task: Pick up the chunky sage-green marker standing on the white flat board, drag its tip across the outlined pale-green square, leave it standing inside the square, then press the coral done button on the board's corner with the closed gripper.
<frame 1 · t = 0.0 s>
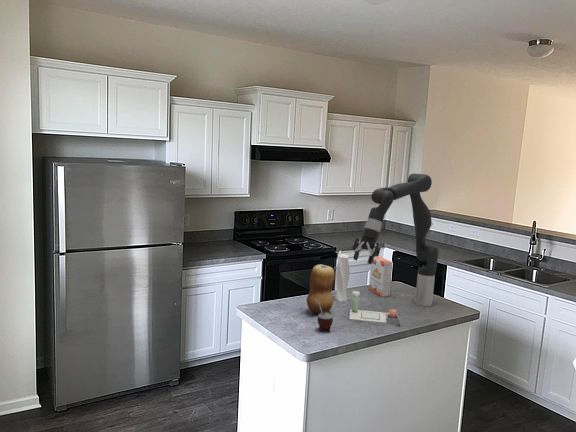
hand: (362, 261, 225), 31 cm above the countertop, fingers open, 8 cm apart
done button: (392, 313, 233), point 5 cm above the countertop, slide at 0.0 cm
butternut squash: (319, 313, 243), on the countertop
marker: (354, 311, 246), point 1 cm above the countertop, touching white flat board
skyscraper: (340, 301, 264), on the countertop
mate gourd: (323, 330, 221), on the countertop
white flat board: (373, 317, 240), on the countertop
cracker box: (379, 293, 282), on the countertop
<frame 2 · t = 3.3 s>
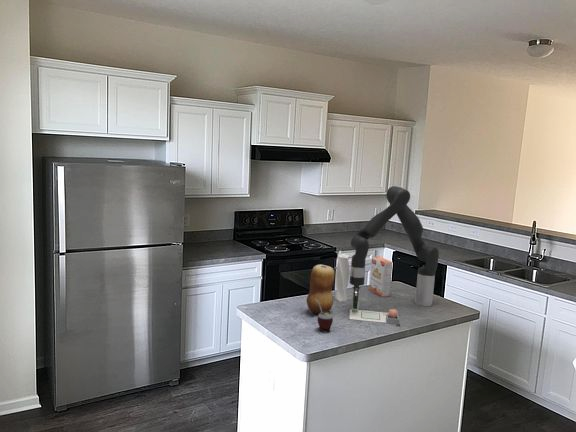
hand: (355, 307, 246), 3 cm above the countertop, fingers closed on marker, 3 cm apart
marker: (354, 311, 246), point 1 cm above the countertop, touching gripper, white flat board
everything else where it was.
when the fingers open (4 cm above the countertop, at t = 8.3 s): marker stays where it is, resting on white flat board.
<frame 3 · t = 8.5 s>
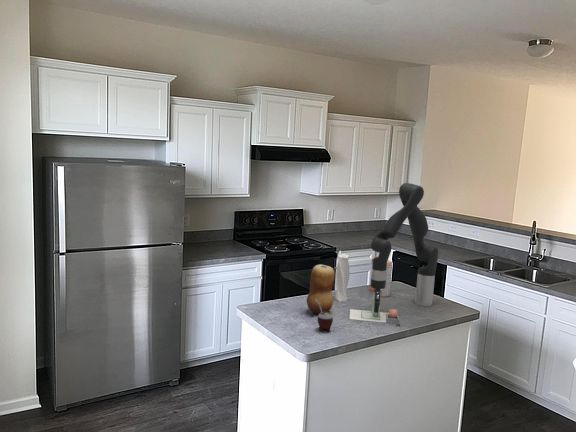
hand: (375, 310, 240), 4 cm above the countertop, fingers open, 5 cm apart
marker: (375, 316, 241), point 1 cm above the countertop, touching white flat board
everything else where it was.
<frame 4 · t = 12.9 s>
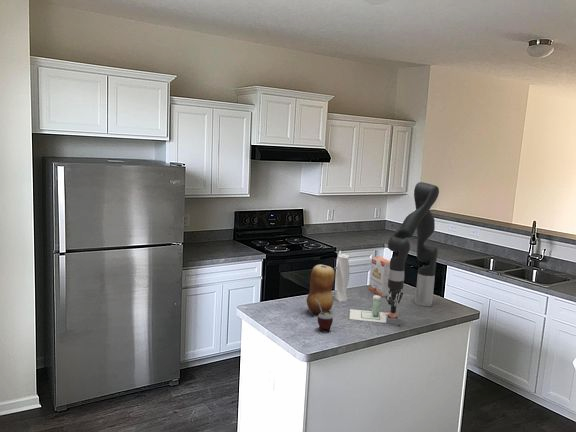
hand: (393, 312, 233), 6 cm above the countertop, fingers closed
done button: (392, 315, 234), point 4 cm above the countertop, slide at 1.2 cm, touching gripper
everything else where it was.
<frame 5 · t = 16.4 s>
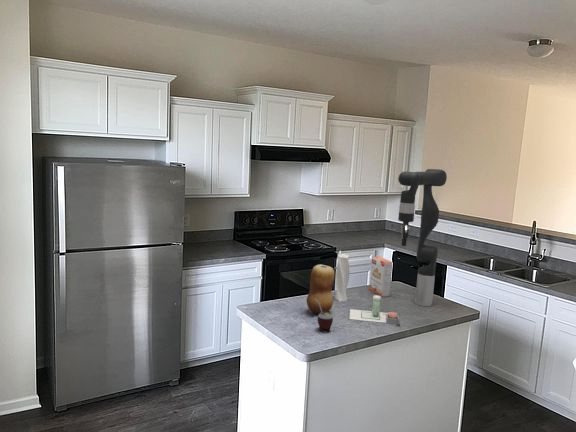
hand: (403, 245, 240), 37 cm above the countertop, fingers closed
done button: (392, 316, 234), point 4 cm above the countertop, slide at 1.5 cm
everything else where it was.
at the end: marker inside the target area (2.5 cm from its centre), point 0.9 cm above the countertop; marker tilted 0°; done button slide at 1.5 cm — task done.
